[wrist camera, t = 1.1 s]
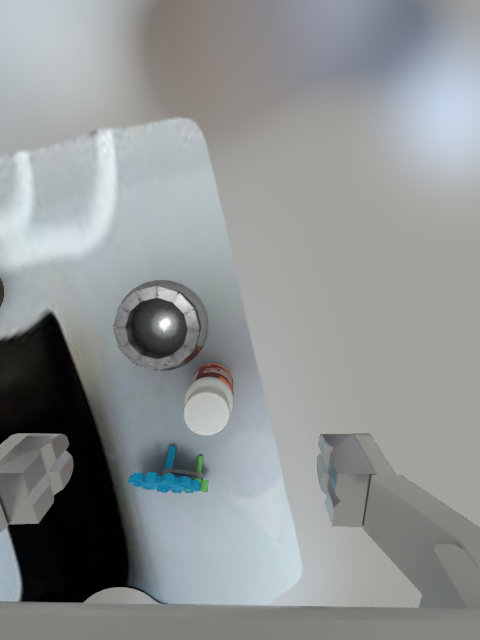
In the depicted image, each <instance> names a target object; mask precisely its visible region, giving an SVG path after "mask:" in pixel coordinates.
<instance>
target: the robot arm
mask: <svg viewBox="0 0 480 640" xmlns="http://www.w3.org/2000/svg"><path fill="white" fill-rule="evenodd" d="M68 445H69V443H68V439H67V436H65V435H63V434H39V433H33V434H29V433H17V434H14V435H11V436H10V437H9V438H8V439H7V440H5V441H4V442H3V443H2V444H1V445H0V532H1V531H3V530H4V529H5V528H6V527H8V524H38V523H39V522H40V520H41V519H42V518H43V516H44V515H45V514H46V512H47V511H48V509H49V508H50V507H51V505H52V504H53V502H54V495H55V494H56V493H58V492H59V491H61V490H62V489H64V487H65V486H66V484H67V483H68V481H69V479H70V477H71V474H72V471H73V459H72V456H71V455H70V454H69V453H68V452H67V451H66V449H67V447H68ZM318 445H319V448H320V451H321V453H320V454H319V455H318V456H317V472H318V479H319V483H320V487H321V490H322V491H323V492H324V493H325V494H326V502H325V504H326V508H327V511H328V514H329V518H330V521H331V524H332V526H347V527H363V529H364V530H365V531H366V533H367V534H368V535H369V536H370V537H371V538H372V539H373V540H374V542H375V543H376V544H377V545H378V546H379V547H380V548H381V549H382V550H383V552H385V554H386V555H387V556H388V557H389V558H390V559H391V560H392V561H393V563H394V564H395V565H396V566H397V567H398V568H399V569H400V570H401V571H402V573H403V574H404V575H405V576H406V577H407V578H408V579H409V580H410V581H411V582H412V584H413V585H414V586H415V587H416V588H417V589H418V590H419V591H420V592H421V594H422V598H421V601H420V605H419V608H390V607H387V608H386V607H384V608H383V607H324V606H317V607H316V606H259V605H193V604H160V603H158V602H156V601H155V600H153V599H152V598H151V597H149V596H148V595H146V594H145V593H143V592H141V591H138V590H135V589H132V588H126V587H114V588H108V589H105V590H102V591H99V592H97V593H95V594H93V595H92V596H90V597H89V598H88V599H87V600H86V601H85V602H84V603H63V602H3V601H0V640H480V527H479V526H477V525H475V524H474V523H473V522H471V521H470V520H468V519H467V518H465V517H464V516H462V515H461V514H459V513H458V512H456V511H455V510H453V509H452V508H450V507H449V506H447V505H446V504H444V503H443V502H441V501H440V500H438V499H437V498H435V497H434V496H432V495H431V494H429V493H428V492H426V491H425V490H423V489H422V488H420V487H419V486H417V485H416V484H414V483H413V482H412V481H410V480H409V479H407V478H405V477H404V476H403V475H396V473H395V472H394V470H393V469H392V467H391V465H390V464H389V462H388V460H387V459H386V457H385V456H384V454H383V453H382V451H381V449H380V448H379V446H378V445H377V443H376V442H375V440H374V438H373V437H372V435H370V434H369V433H355V434H354V433H353V434H320V436H319V444H318Z"/></svg>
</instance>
